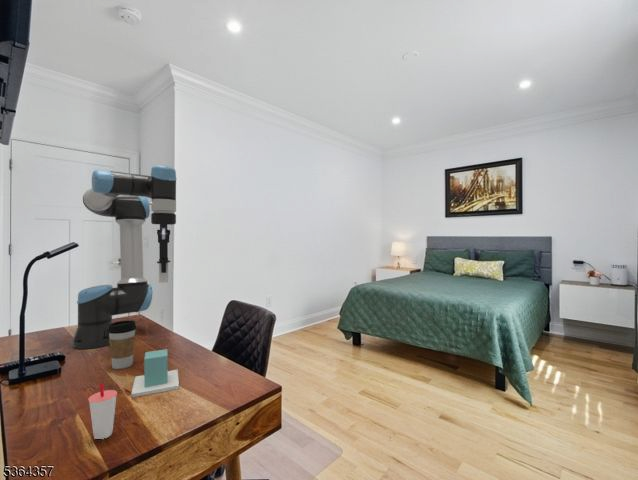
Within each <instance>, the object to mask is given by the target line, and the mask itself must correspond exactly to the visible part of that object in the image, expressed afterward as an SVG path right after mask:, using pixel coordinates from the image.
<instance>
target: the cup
mask: <svg viewBox="0 0 638 480" xmlns="http://www.w3.org/2000/svg"><path fill="white" fill-rule="evenodd" d="M117 395H118V391H117V390H115V389H114V390H113V389H107V390H105V389H104V382H101V383H100V384H99V391H98V392H96V393H94V394H92V395H90V396H89V397H88V399H87V400H88V403H89V411H90V418H91V419H90V420H91V427H92V433H93V439H94V440H95V439H102V440H105V439H107V438H109V437H110V436H112V435H113V429H114V422H115V413H116V412H115V411H116V402H117ZM104 438H105V439H104Z"/></svg>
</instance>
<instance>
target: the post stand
mask: <svg viewBox="0 0 638 480" xmlns="http://www.w3.org/2000/svg"><path fill="white" fill-rule="evenodd" d="M178 370H179V369H178V368H177V369H172V370H168V383H165V384H160V385H155V386H149V387H144V374H142V375H136V376H135V377H134V382H133V385H132V389H131V390H132V391H131V399H133V398H137V397H144V396H148V395H153V394H158V393H163V392H164V393H165V392H169V391H175V390H178V389H180V385H179V382H180V381H179V371H178Z"/></svg>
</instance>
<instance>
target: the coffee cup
mask: <svg viewBox="0 0 638 480" xmlns="http://www.w3.org/2000/svg"><path fill="white" fill-rule="evenodd" d="M136 330H137V325H136V321H135V320H122V321H121V320H120V321H115V322H112V323H111V324H110V325H109V329H108V333H109V352H110V358H111V367H112V369H113V370H122V369H127V368H129V367H131V366H132V365H133V363H134V362H133V361H134V359H133V358H134V349H135V340H136Z"/></svg>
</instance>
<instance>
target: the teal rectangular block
mask: <svg viewBox="0 0 638 480" xmlns="http://www.w3.org/2000/svg"><path fill="white" fill-rule="evenodd" d="M144 353H145V354H144V360H143V362H144V367H143V368H144V371H143V372H144V374H143V375H144V387H149V386H155V385H160V384H165V383H168V371H169V370H168V348H165V349H159V350H153V351H146V352H144Z"/></svg>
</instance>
